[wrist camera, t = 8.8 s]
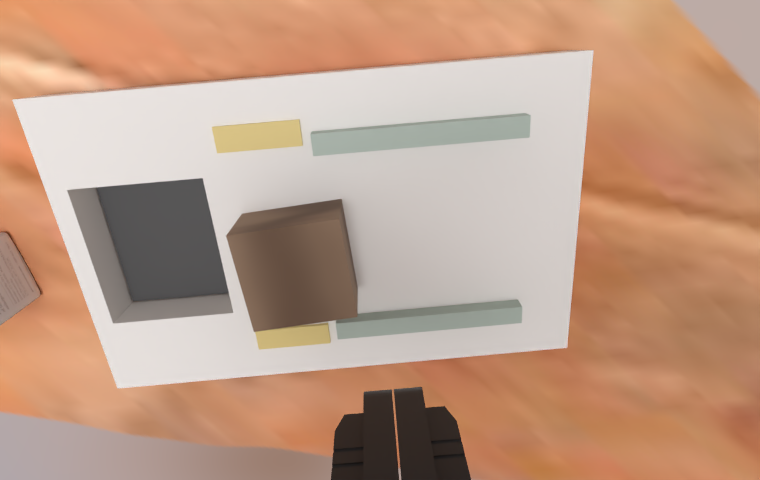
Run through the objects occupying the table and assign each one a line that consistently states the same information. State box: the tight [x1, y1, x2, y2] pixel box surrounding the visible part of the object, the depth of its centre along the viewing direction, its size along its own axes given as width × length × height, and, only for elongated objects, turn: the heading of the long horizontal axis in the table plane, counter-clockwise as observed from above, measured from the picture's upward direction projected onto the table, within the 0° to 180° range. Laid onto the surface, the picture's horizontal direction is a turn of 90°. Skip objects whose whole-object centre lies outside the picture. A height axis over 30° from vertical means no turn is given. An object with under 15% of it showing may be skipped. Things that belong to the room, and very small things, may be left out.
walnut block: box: [226, 199, 358, 332], centre depth 23 cm, size 5×5×3 cm
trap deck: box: [13, 50, 593, 388], centre depth 25 cm, size 26×16×3 cm, turn 94°
